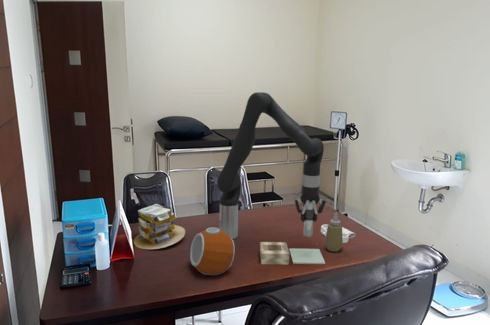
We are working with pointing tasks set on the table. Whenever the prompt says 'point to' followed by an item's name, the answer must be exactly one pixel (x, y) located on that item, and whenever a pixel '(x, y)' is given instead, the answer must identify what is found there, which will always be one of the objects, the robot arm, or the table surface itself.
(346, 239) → the white brass knuckles
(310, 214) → the steel peg
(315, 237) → the table surface
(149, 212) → the package stack on board
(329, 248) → the squeeze bottle
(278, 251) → the eye block
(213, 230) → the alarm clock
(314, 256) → the sage mat
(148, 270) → the table surface
